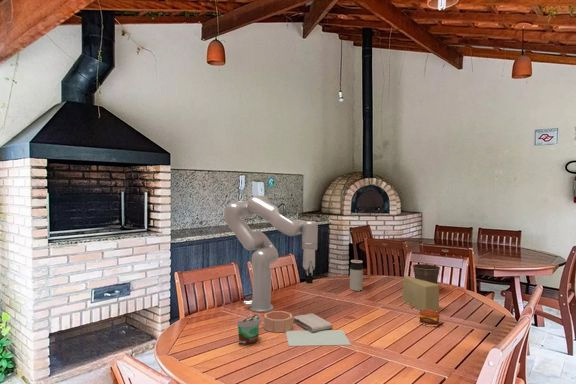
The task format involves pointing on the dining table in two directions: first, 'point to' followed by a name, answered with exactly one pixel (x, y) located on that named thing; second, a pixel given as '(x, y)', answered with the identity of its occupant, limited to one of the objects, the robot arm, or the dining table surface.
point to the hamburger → (429, 317)
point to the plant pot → (426, 272)
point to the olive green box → (421, 293)
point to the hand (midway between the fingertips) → (308, 282)
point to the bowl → (278, 321)
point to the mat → (317, 338)
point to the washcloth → (312, 322)
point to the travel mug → (356, 275)
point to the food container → (249, 330)
